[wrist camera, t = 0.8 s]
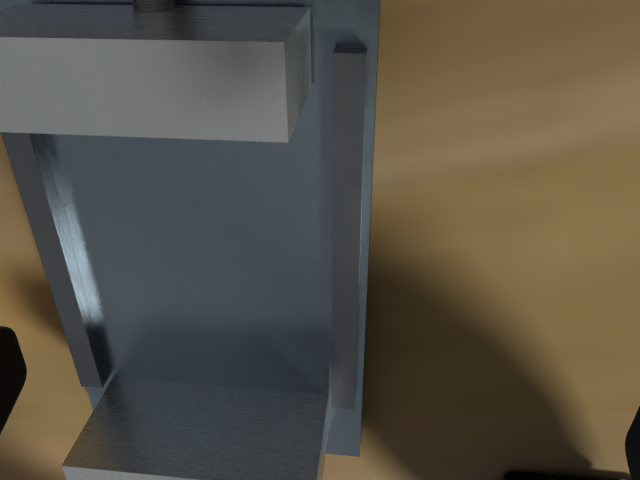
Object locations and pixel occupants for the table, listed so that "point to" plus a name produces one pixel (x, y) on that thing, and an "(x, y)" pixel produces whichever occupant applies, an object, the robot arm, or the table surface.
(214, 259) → the vise
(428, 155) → the table surface
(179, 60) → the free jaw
